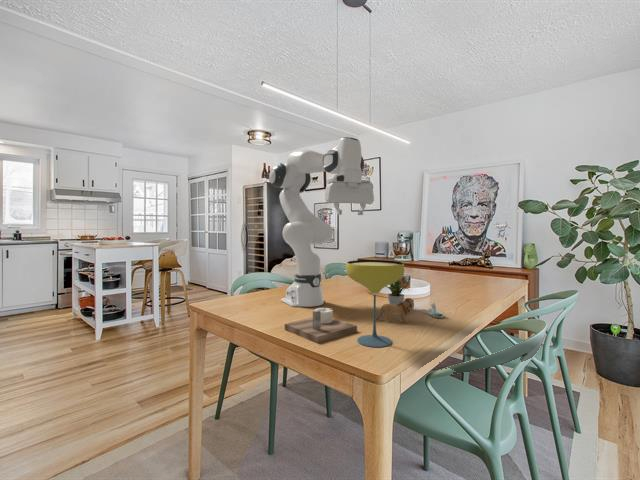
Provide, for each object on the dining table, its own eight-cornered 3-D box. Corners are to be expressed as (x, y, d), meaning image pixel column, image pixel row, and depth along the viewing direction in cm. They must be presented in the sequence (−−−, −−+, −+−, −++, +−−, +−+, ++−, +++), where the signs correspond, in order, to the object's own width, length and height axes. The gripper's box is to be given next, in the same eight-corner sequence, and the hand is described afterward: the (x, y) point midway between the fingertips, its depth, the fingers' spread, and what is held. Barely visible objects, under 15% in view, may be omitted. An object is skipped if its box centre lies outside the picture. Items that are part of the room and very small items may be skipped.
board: (284, 329, 116) (284, 307, 116) (323, 320, 128) (323, 299, 127) (317, 343, 102) (317, 317, 102) (357, 331, 114) (357, 308, 113)
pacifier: (441, 314, 137) (426, 313, 137) (441, 299, 137) (427, 299, 137) (446, 319, 130) (431, 318, 130) (447, 303, 129) (432, 303, 130)
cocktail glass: (414, 341, 104) (415, 262, 103) (382, 357, 91) (383, 267, 90) (368, 329, 117) (368, 258, 116) (334, 341, 104) (334, 262, 103)
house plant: (413, 314, 136) (413, 275, 135) (379, 312, 140) (379, 274, 139) (413, 306, 149) (413, 271, 149) (382, 304, 153) (382, 270, 153)
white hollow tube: (316, 323, 116) (316, 311, 116) (313, 318, 122) (313, 307, 122) (334, 322, 117) (334, 311, 117) (330, 318, 123) (330, 306, 123)
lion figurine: (411, 319, 129) (412, 296, 129) (416, 323, 124) (416, 299, 123) (374, 319, 129) (374, 296, 128) (377, 323, 123) (377, 299, 123)
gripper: (368, 181, 135) (368, 215, 135) (323, 178, 127) (323, 214, 127) (377, 179, 129) (376, 214, 130) (330, 176, 121) (330, 214, 121)
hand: (349, 214), depth 128 cm, fingers open, 8 cm apart
